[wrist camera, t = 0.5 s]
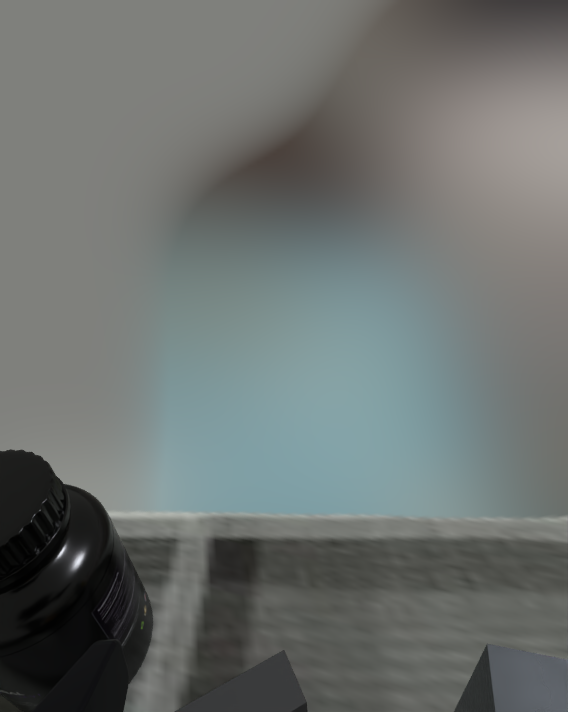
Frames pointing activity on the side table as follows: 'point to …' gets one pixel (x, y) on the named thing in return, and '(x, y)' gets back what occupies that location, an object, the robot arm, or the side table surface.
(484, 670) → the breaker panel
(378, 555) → the side table surface
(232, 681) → the dark grey slat
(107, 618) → the supplement bottle
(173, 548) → the side table surface
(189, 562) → the side table surface
